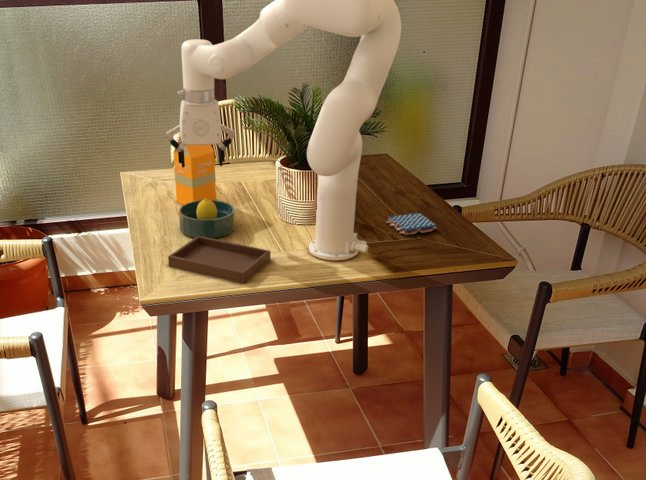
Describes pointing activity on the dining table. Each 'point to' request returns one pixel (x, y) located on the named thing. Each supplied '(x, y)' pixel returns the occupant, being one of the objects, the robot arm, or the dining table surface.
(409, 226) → the woven mat
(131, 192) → the dining table surface
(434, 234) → the dining table surface
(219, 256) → the tray
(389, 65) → the robot arm
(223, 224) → the bowl
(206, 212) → the lemon
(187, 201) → the orange juice
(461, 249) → the dining table surface
